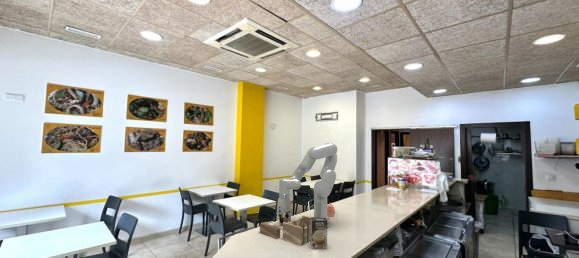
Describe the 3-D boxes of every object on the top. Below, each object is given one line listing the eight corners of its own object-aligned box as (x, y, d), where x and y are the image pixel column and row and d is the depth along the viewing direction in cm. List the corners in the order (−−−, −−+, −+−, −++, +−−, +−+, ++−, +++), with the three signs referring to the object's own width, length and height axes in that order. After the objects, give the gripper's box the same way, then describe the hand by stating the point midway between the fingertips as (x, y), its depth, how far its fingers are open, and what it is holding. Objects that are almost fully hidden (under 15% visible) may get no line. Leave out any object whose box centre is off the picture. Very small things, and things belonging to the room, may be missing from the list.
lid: (280, 224, 178) (280, 215, 178) (293, 228, 170) (293, 219, 170) (263, 230, 165) (264, 221, 166) (277, 235, 157) (277, 225, 157)
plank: (263, 231, 161) (263, 222, 161) (280, 238, 151) (280, 228, 151) (259, 232, 159) (259, 223, 159) (276, 239, 148) (277, 229, 149)
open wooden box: (302, 230, 164) (302, 210, 165) (320, 236, 154) (320, 215, 155) (282, 239, 149) (282, 217, 150) (301, 246, 139) (301, 223, 140)
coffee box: (311, 249, 135) (311, 220, 136) (309, 244, 141) (310, 217, 142) (327, 249, 135) (327, 220, 136) (325, 244, 142) (325, 217, 142)
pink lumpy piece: (322, 210, 212) (322, 198, 213) (332, 210, 212) (333, 199, 213) (324, 216, 194) (324, 204, 195) (336, 216, 194) (336, 204, 195)
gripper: (288, 193, 181) (288, 217, 181) (272, 197, 169) (271, 223, 168) (296, 194, 177) (295, 220, 176) (280, 199, 164) (279, 226, 163)
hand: (284, 221), depth 172 cm, fingers open, 5 cm apart
